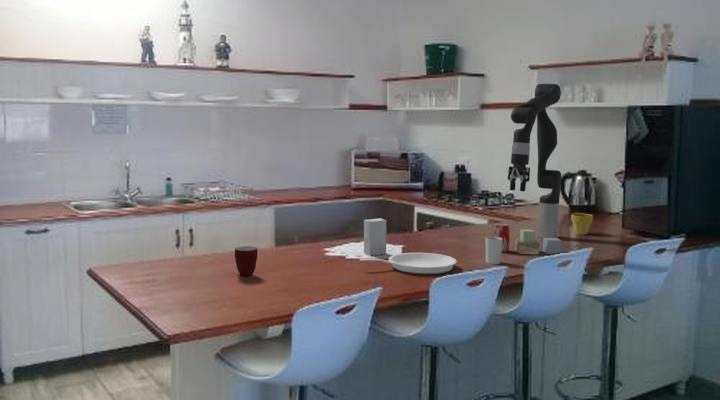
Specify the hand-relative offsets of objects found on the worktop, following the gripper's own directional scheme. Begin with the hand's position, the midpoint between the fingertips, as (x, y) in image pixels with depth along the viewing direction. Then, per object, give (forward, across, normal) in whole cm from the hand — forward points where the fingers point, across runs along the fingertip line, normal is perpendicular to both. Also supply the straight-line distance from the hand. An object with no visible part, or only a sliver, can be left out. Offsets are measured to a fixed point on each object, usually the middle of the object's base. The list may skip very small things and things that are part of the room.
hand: (517, 190), depth 286 cm
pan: (+33, -19, +56) cm, 67 cm away
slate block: (+26, -4, -17) cm, 31 cm away
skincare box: (+31, +9, +60) cm, 68 cm away
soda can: (+27, +3, +4) cm, 28 cm away
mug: (+37, -15, +118) cm, 124 cm away
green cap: (+22, -2, -6) cm, 23 cm away
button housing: (+26, -2, -6) cm, 27 cm away
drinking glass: (+29, -17, +18) cm, 38 cm away
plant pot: (+21, +34, -58) cm, 70 cm away
